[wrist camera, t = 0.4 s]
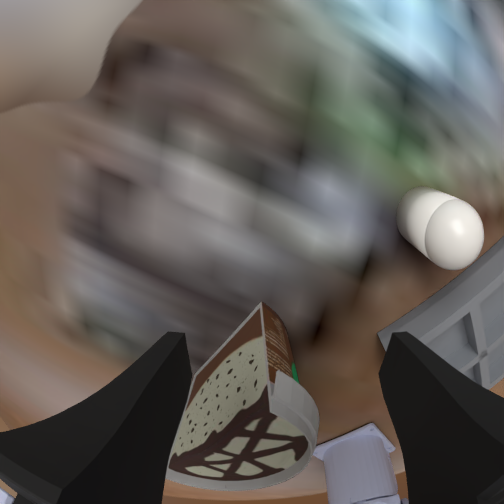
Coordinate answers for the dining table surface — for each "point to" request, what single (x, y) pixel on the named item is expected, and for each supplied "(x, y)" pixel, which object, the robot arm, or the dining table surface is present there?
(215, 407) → the food container
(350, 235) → the dining table surface
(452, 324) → the grey compartment tray
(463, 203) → the egg
